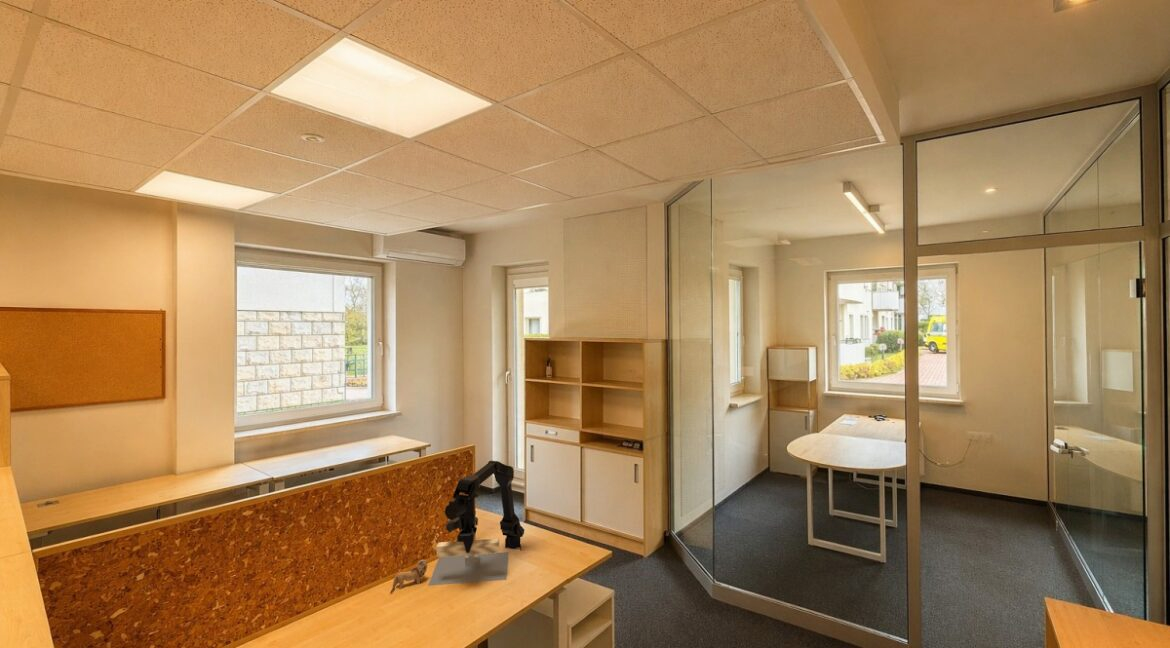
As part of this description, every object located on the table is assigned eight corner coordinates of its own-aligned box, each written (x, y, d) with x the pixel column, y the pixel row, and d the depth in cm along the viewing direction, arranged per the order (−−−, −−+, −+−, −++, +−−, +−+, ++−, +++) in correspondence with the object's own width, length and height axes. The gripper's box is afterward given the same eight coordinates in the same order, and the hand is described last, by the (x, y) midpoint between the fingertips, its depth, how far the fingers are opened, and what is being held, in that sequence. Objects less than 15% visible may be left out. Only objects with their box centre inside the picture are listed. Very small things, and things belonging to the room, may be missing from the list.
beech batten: (499, 548, 202) (499, 538, 202) (498, 552, 198) (498, 542, 198) (438, 552, 199) (438, 542, 199) (436, 557, 195) (436, 546, 195)
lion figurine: (424, 578, 201) (424, 556, 201) (430, 583, 197) (429, 560, 197) (387, 592, 191) (387, 568, 191) (392, 597, 187) (392, 573, 187)
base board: (508, 554, 221) (508, 552, 221) (506, 582, 196) (506, 579, 196) (439, 559, 217) (439, 556, 217) (428, 588, 193) (428, 585, 193)
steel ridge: (479, 558, 216) (478, 545, 216) (477, 566, 208) (477, 554, 208) (467, 558, 215) (467, 546, 215) (465, 567, 207) (464, 554, 207)
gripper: (450, 504, 207) (451, 542, 207) (443, 521, 189) (443, 562, 188) (477, 502, 209) (478, 540, 208) (473, 519, 190) (473, 560, 190)
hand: (468, 550), depth 199 cm, fingers closed on beech batten, 4 cm apart
